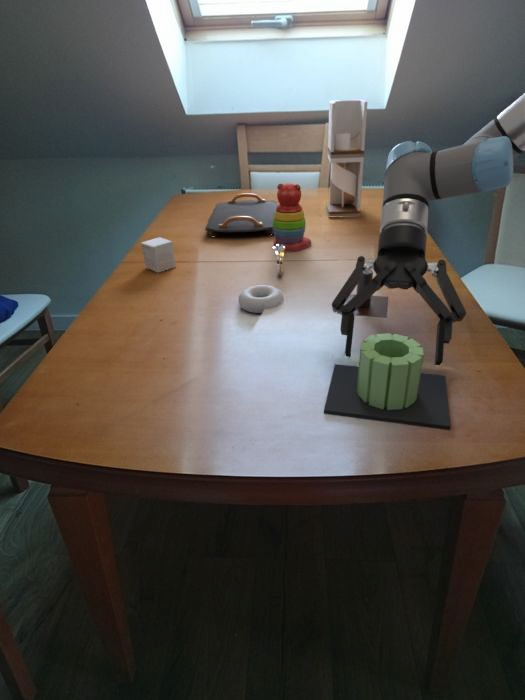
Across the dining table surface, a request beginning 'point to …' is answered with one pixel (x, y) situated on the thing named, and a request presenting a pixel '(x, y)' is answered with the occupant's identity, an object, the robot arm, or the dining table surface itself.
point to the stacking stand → (370, 300)
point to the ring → (279, 256)
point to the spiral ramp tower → (346, 156)
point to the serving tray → (242, 215)
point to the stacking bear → (289, 219)
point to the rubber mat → (422, 412)
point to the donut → (260, 298)
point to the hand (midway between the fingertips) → (392, 359)
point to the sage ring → (389, 371)
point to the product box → (158, 254)
